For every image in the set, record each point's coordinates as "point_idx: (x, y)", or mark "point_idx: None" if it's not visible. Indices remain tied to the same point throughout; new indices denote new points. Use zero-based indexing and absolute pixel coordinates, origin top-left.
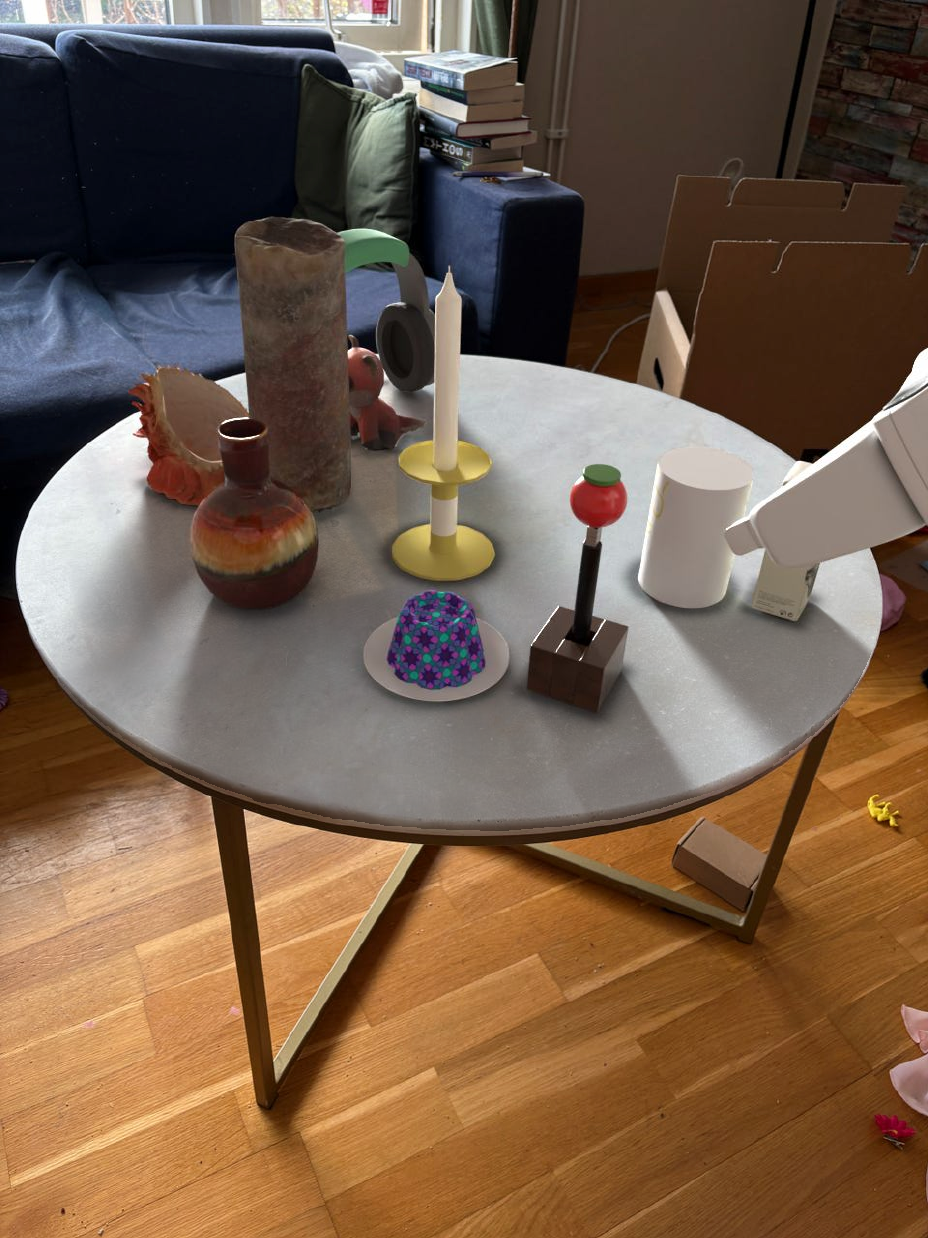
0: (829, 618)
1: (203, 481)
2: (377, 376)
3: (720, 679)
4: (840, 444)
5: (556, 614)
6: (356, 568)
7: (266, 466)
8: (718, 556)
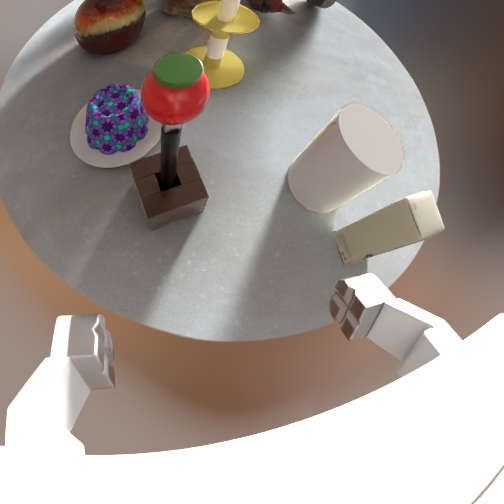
0: None
1: None
2: None
3: (253, 267)
4: (353, 444)
5: None
6: (158, 50)
7: None
8: (333, 194)
